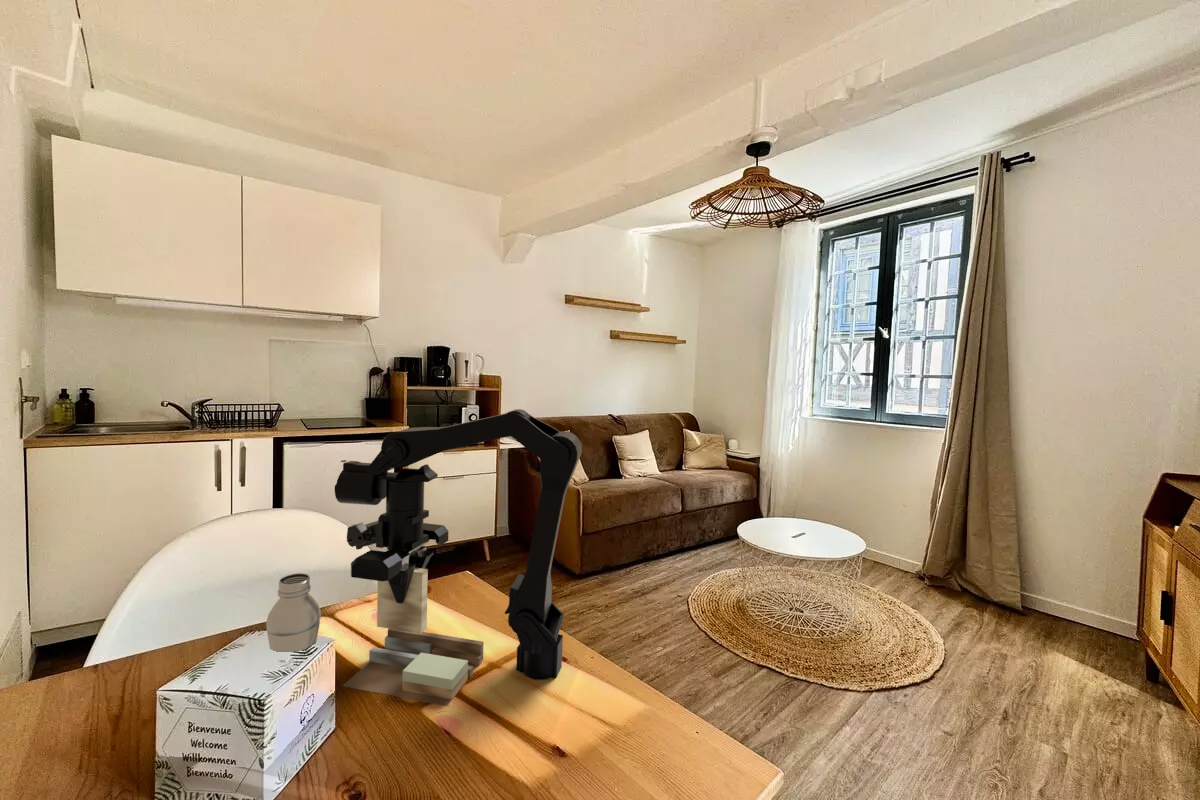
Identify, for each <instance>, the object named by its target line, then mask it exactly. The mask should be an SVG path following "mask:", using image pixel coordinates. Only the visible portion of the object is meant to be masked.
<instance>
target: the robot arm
mask: <svg viewBox="0 0 1200 800" xmlns="http://www.w3.org/2000/svg"><path fill="white" fill-rule="evenodd" d="M509 437H511V438H513V439H514V440H515V441H517V442H518V443H519V444H521V446H523V448H525V449H526V450H527V451H529V452H530V453H531V454H533V455H534V456H535V457H537V458H539V477H540V478H539V479H540V486H541V487H540V490H541V491H540V496H539V502H538V507H537V511H536V512H537V513H536V517H535V523H534V527H533V530H532V531H533V532H532V538H531V542H530V547H529V553H528V558H527V562H526V568H525V572H524V574H521V573H518V574H517V576H516V578H515V580H514V581H513V583H512V584H511V586H510V589H509V593H508V594H509V595H508V597H509V599H508V606H507V607H506V610H505V611H504V614H505V615H508V616H507V617H508V618H507V619H508V620H507V622H508V626H509V628H511V630H512V631H513V632H514V633H515V634H516V636H517V640H518V641H519V644H518V646H517V647H516V660H515V661H516V664H515V666H516V667H515V670H516V671H517V672H519V673H522V674H524V675H525V677H527V678H528V679H531V680H537V681H544V680H548V679H551V678H552V679H557V677H558V676H559V674H560V672H561V669H562V663H563V645H564V644H563V641H564V635H563V634H560V631H561V627H562V623H563V619H564V615H565V614H564V613H563V612H562V611H561V610H560V609H559V608H558V606H557V605H555V603H554V602H553V601H552V598H553V597H552V595H553V593H552V592H553V591H552V588H553V585H552V576H551V569H552V567H553V566H552V564H553V560H554V555H555V550H556V547H557V546H556V544H557V540H558V535H559V530H560V524H561V519H562V515H563V510H564V505H565V498H566V496H567V494H566V493H567V491H568V488H569V485H570V483H571V481H572V477H573V476H574V474H575V471H576V467H577V465H578V463H579V460H580V458H581V456H582V453H583V445H582V441H580V439H579V437H578V436H577V435H575V434H574V433H573V432H569V431H566V430H565V431H560V430H558V429H557V428H555V427H553V426H551V425H550V424H548V423H545V422H544V421H542V420H540V419H538V418H536V417H534V416H532V415H531V414H529V412H528V411H526V410H524V409H522V408H521V409H520V408H518V409H513V410H510V411H508V412H505V413H502V414H498V415H492V416H489V417H485V418H479V419H474V420H470V421H467V422H461V423H456V424H453V425H448V426H439V427H438V426H423V427H422V426H419V427H418V426H417V427H409V428H404V429H400V430H398V431H394V432H393V431H392V432H391V433H388V434H387V435H385V436H384V439H383V440H382V442H381V445H380V451H379V453H378V454H377V455H376V457H374V459H373V460H372V461H371V462H361V461H357V460H349V461H345V462H344V463H343V464H342V470H341V472H340V473H339V475H338V477H337V479H336V484H335V485H334V495H335V499H336V501H337V502H339V503H340V504H351V505H368V506H369V505H370V506H378V505H379V504H380V503H381V501H382V500H384V499H385V512H383V513H380V515H379V516H378V520H376V521H372V522H370V523H366V524H364V523H363V522H359V523H357V524H353V525H350V526H348V527H347V532H346V542H347V543H348V546H350V547H351V548H353V547H355V549H356V550H357V551H358V550H361V549H363V547H368V546H371V545H374V544H375V548H379V549H383V548H386V551H381V550H375V549H370V550H369V551H366V552H364V553H363V554H361V555H359V556H356V557H355V558H354V560H353V561H351V563H350V577H351V578H355V579H356V578H357V579H360V580H361V579H364V580H369V581H377V582H378V581H388V582H389V584H390V587H391V590H392V592H393V595H394V597H395V600H396V602H397V603H401V604H402V603H403V602H404V600H405V597H406V594H407V591H408V588H409V585H410V581H411V578H412V575H413V572H414V569H415V568H422V569H426V567H427V565H428V564H429V561H430V559H431V557H433V555H434V551H432V550H427V546H425V545H426V544H427V543H428V542H429V541H430V540H433V541H434V540H435V543H436V545H437V546H442V545H444V544H445V543H447V542H449V530H448V528H447V527H446V526H445V525H443V524H434V523H426V522H424V519H426V518H428V517H429V516H430V510H428V509H424V507H425V506H424V505H425V503H424V502H425V500H424V499H425V483H429V482H430V481H433V480H435V479H436V478H438V476H439V475H438V473H437V472H436V471H434V470H433V469H432V468H431V467H430V466H429V464H428V463H427V464H424V465H421V466H420V467H419V468H409V466H410V465H413V464H416V463H418V462H421V461H423V460H425V459H428V458H430V457H432V456H435V455H438V454H440V453H442V452H446V451H449V450H454V449H459V448H463V447H467V446H472V445H476V444H481V443H486V442H491V441H496V440H499V439H504V438H509ZM407 467H408V468H407ZM394 469H400V470H399V471H398V472H388V471H391V470H394Z"/></svg>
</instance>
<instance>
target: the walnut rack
mask: <svg viewBox="0 0 1200 800" xmlns="http://www.w3.org/2000/svg"><path fill="white" fill-rule="evenodd" d="M484 644H485V643H484V641H482V640H476V639H471V638H463V637H457V636H452V635H451V636H450V635H447V634H446V635H444V634H437V633H432V632H426V631H424V632H423V633H414V632H408V631H402V630H395V629H389V628H387V635H386V636H385V637H384V648H382V647H381V648H379V647H372V648H371V649H370V650H369V651H368V652H369V654H368V656H369V658H368V660H369V661H368V663H367V664H366V665H365V666H364V667H362V668H360V670H359V671H358V672H356V673H355V674H354V675H353V676H352V677H351V678H350V679H348V680H347V681H346V682H345V683H343V684H342V687H345V688H350V689H355V690H360V691H365V692H371V693H376V694H381V695H387V696H392V697H396V698H401V699H406V700H413V701H418V702H422V703H428V704H433V705H439V706H442V707H443V706H445V707H448V706H449V704H450V703H451V702H452V700H451V699H446V698H440V697H435V696H430V695H424V694H419V693H414V692H408V691H403V690H402V676H403V670H404V669H405V668H406V667H407V666H408V665H409V664H410V663H411V662H412V661H413V660H414V659H415V658H416V657H417V656H418V655H419V654H420V653H427V654H433V655H439V656H444V657H450V658H456V659H462V660H468V679H467V681H468V680H469V679H470V678H471V677H472V676H473V675H474V672H475V671H476V669H477V668H478V667H479V666H481V664H482V662H483V660H484ZM465 683H466V682H465ZM465 683H464V685H465ZM461 689H462V687H461V688H460V690H461ZM458 693H459V691H458V692H457V694H458ZM455 697H456V695H455V696H454V698H455Z"/></svg>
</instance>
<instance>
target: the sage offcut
mask: <svg viewBox="0 0 1200 800" xmlns="http://www.w3.org/2000/svg"><path fill="white" fill-rule="evenodd" d="M467 670H468V660H462V659H456V658H450V657H444V656H439V655H433V654H427V653H420V654H419V655H418V656H417V657H416V658H415V659H414V660H413V661H412V662H411V663H410V664H409V665H408V666H407V667H406V668H405V669H404V670H403V676H402V681H407V682H413V683H418V684H424V685H429V686H434V687H440V688H445V689H451V690H452V689H453V688H454V687H455V686H456V684H457V683H458V682H459V680H460V679H461V678H462V677H463V675H464V674H465V673H466V672H467Z"/></svg>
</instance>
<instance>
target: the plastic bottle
mask: <svg viewBox="0 0 1200 800" xmlns="http://www.w3.org/2000/svg"><path fill="white" fill-rule="evenodd" d="M311 586H312V585H311V577H310V575H309V574H308V573H302V572H301V573H296V572H295V573H292V574H287V575H284V576H282V577H281V578H280V579H279V580H278V590H277V597H279V598H278V600H277V601H276V602H275V604H274V605H273V606H272V608H271V610H269V613H268V616H267V619H266V621H265V623H266V626H265V627H266V632H267V640H268V645H269V650H270V649H271V650H273V651H276V652H294V651H300V650H303V649H306V648H308V647H310V646H312V645H314V644H316V642H317V643H318V634H319V631H320V630H319V629H320V624H321V617H322V616H321V615H322V611H321V607H320V605H319V603H318V602H317V601H316V600H315V598H314V597H313V596H312V595H311V594H310V593H309V592H311Z"/></svg>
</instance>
